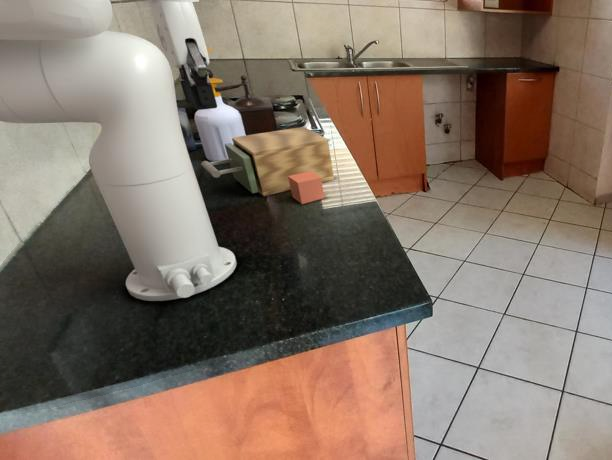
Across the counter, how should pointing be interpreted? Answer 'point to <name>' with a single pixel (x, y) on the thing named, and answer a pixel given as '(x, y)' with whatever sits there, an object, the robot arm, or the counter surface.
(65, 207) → the counter surface
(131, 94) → the robot arm
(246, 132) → the pepper mill
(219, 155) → the soap bottle
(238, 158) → the drawer
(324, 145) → the cabinet
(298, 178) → the block
